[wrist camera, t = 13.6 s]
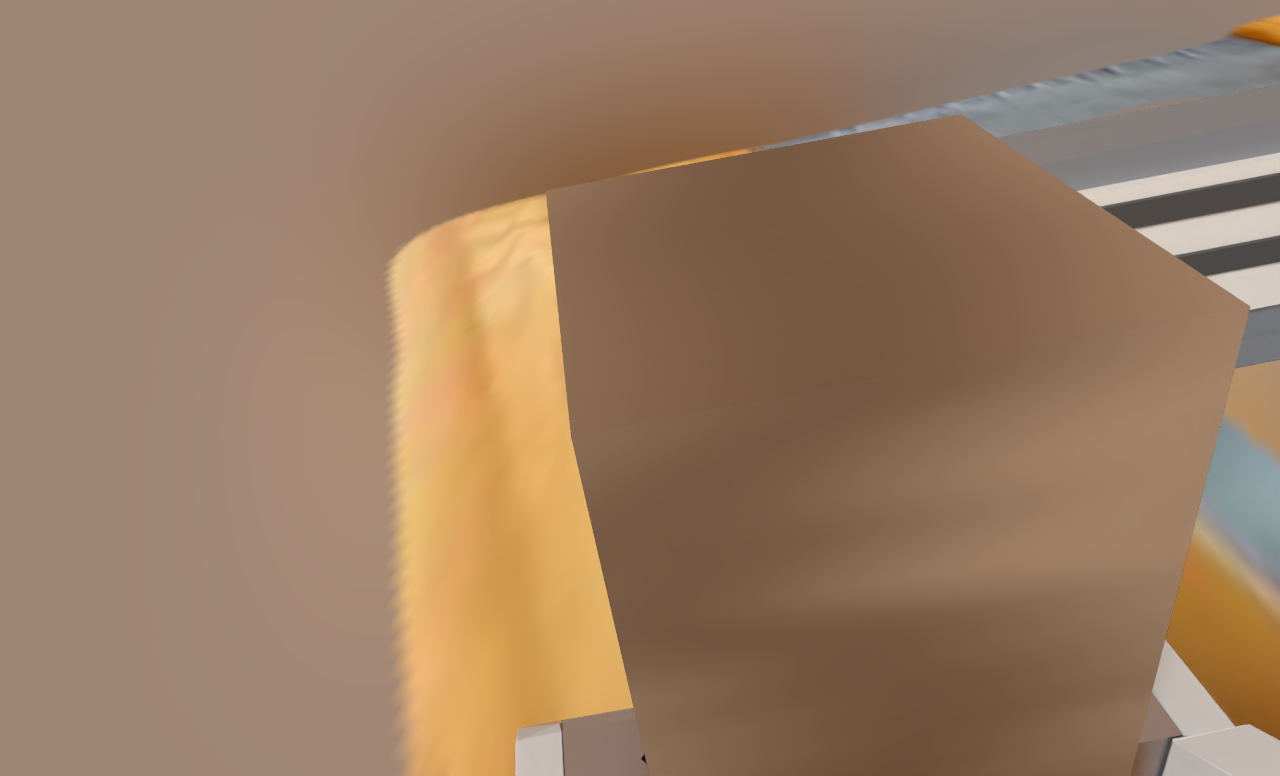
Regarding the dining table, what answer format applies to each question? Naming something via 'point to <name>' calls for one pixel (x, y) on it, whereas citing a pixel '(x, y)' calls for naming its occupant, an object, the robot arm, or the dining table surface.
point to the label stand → (1189, 190)
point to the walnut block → (885, 454)
